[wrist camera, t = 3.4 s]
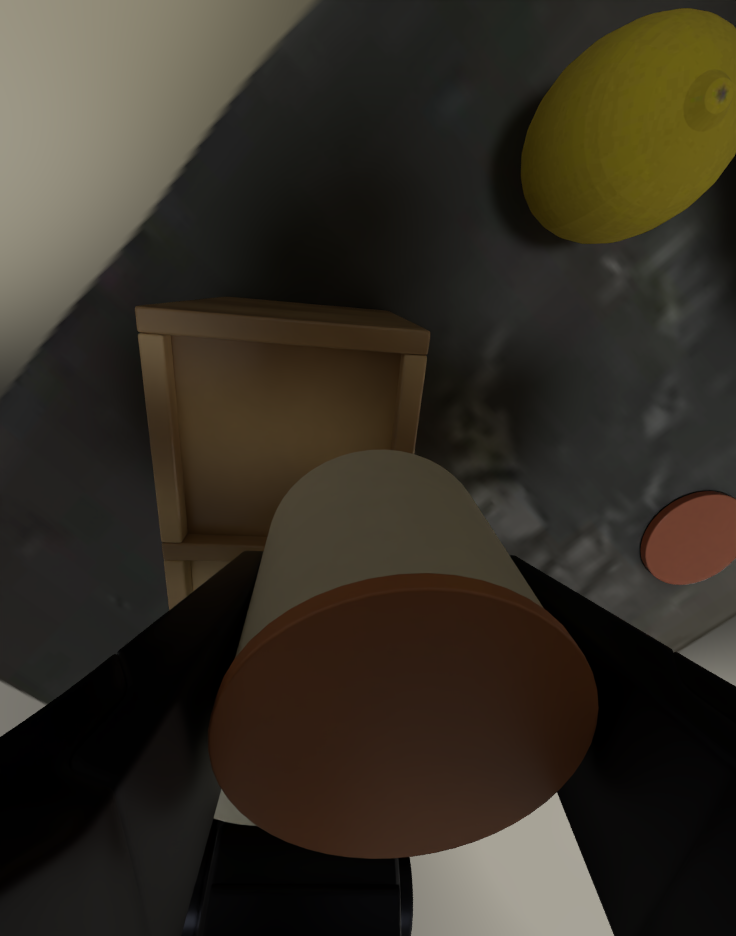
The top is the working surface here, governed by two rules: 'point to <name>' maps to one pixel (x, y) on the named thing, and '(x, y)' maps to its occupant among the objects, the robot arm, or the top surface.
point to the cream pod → (395, 671)
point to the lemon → (634, 128)
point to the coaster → (691, 538)
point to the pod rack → (263, 412)
